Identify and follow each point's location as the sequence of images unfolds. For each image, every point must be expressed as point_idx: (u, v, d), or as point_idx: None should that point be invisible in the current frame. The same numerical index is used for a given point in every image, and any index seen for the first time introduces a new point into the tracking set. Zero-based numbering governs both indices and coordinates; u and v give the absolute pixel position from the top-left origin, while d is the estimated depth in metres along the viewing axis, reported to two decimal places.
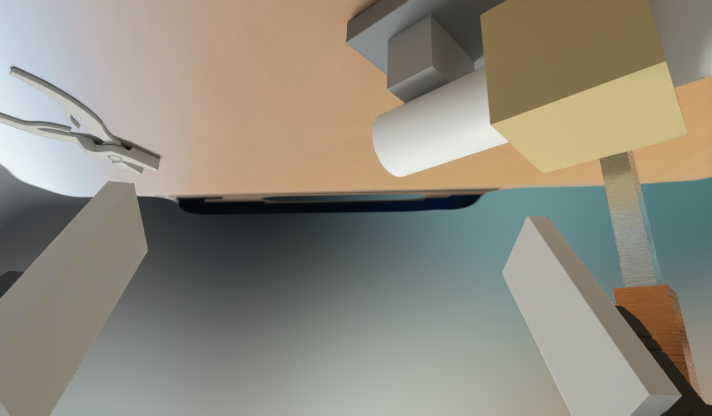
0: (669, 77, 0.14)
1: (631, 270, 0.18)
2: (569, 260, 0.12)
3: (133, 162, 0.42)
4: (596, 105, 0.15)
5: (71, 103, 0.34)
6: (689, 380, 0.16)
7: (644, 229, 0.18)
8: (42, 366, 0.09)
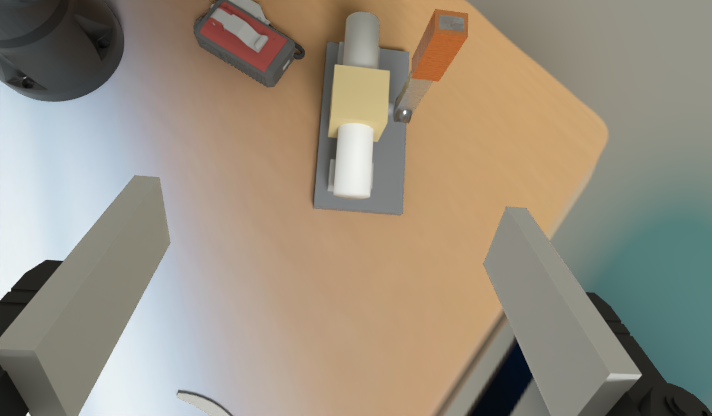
0: (344, 65, 0.43)
1: None
2: (543, 249, 0.12)
3: None
4: (345, 85, 0.43)
5: (214, 406, 0.45)
6: (423, 35, 0.34)
7: (409, 77, 0.40)
8: (82, 349, 0.09)
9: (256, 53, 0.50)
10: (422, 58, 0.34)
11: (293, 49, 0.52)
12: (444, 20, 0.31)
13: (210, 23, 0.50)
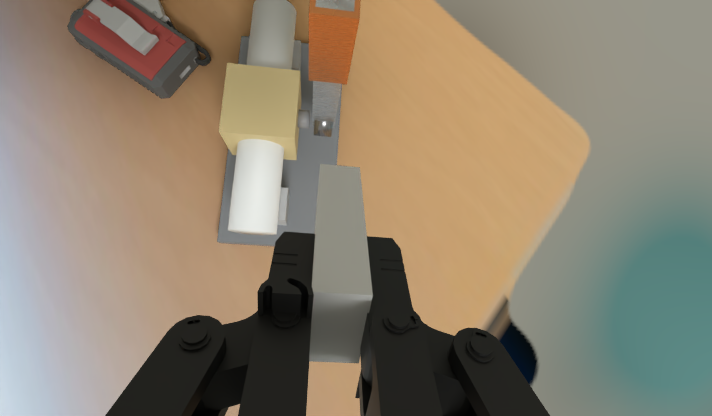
0: (240, 64, 0.33)
1: None
2: (351, 199, 0.13)
3: None
4: (240, 90, 0.33)
5: None
6: None
7: None
8: None
9: (143, 56, 0.40)
10: (310, 52, 0.24)
11: (193, 53, 0.41)
12: None
13: (87, 16, 0.40)
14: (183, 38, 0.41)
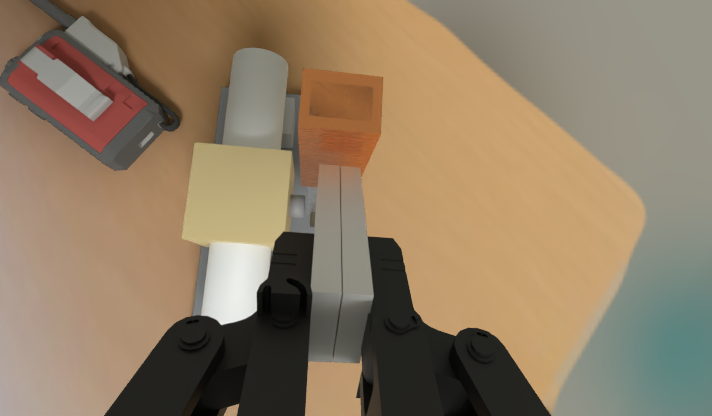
0: (212, 144, 0.25)
1: None
2: (352, 199, 0.13)
3: None
4: (211, 180, 0.25)
5: None
6: None
7: None
8: None
9: (91, 122, 0.32)
10: (302, 163, 0.16)
11: (156, 118, 0.33)
12: (324, 96, 0.13)
13: (24, 68, 0.32)
14: (145, 99, 0.33)
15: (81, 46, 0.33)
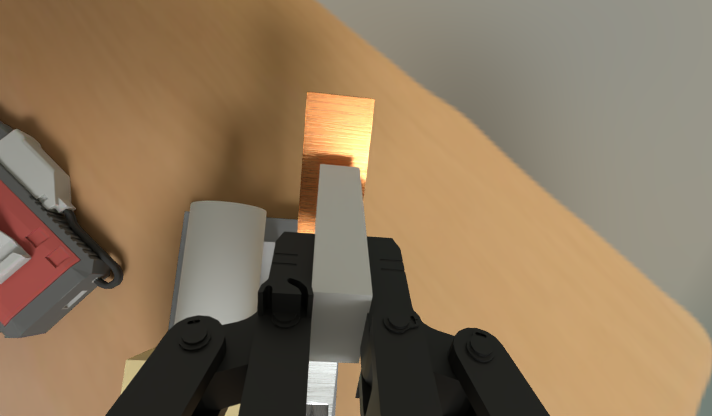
0: None
1: None
2: (351, 199, 0.13)
3: None
4: None
5: None
6: None
7: None
8: None
9: None
10: (303, 184, 0.16)
11: (88, 278, 0.25)
12: None
13: None
14: (76, 252, 0.25)
15: (6, 172, 0.26)
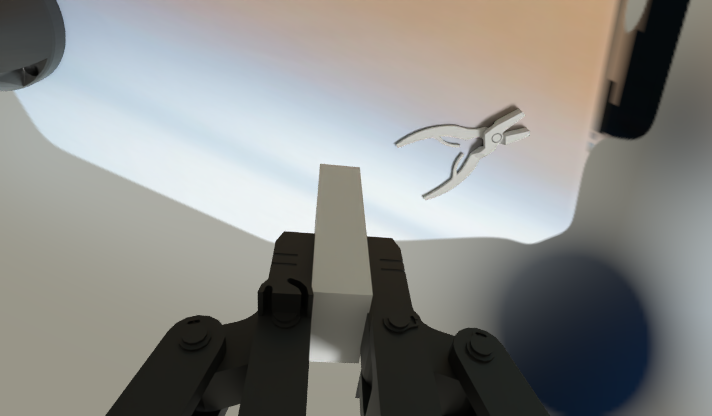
0: None
1: None
2: (351, 199, 0.13)
3: (506, 126, 0.48)
4: None
5: (429, 130, 0.49)
6: None
7: None
8: None
9: None
10: None
11: None
12: None
13: None
14: None
15: None
